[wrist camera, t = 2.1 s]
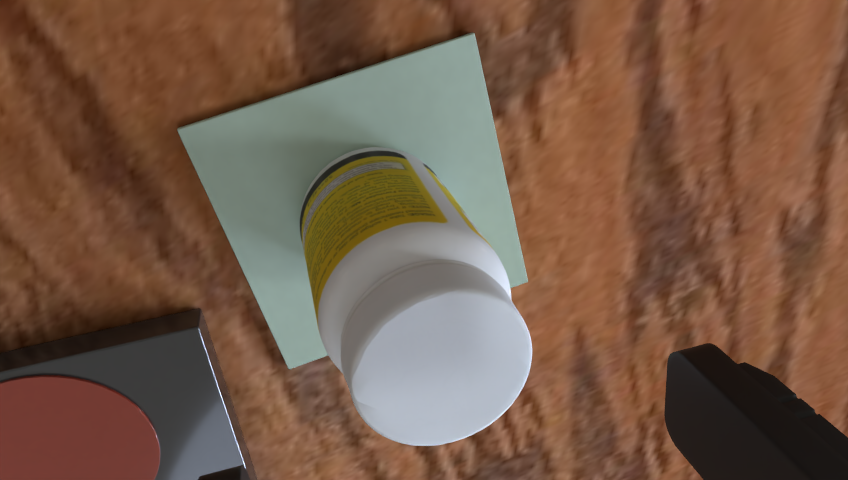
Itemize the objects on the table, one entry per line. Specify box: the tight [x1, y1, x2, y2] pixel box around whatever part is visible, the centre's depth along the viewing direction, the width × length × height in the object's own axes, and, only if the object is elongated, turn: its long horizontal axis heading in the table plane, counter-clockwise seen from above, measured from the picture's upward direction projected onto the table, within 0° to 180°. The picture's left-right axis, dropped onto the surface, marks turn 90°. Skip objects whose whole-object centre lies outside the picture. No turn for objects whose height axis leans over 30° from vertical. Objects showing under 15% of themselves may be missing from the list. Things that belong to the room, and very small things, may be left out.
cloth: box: [177, 33, 528, 369], centre depth 21 cm, size 9×9×1 cm
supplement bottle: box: [300, 147, 532, 446], centre depth 17 cm, size 5×5×8 cm
